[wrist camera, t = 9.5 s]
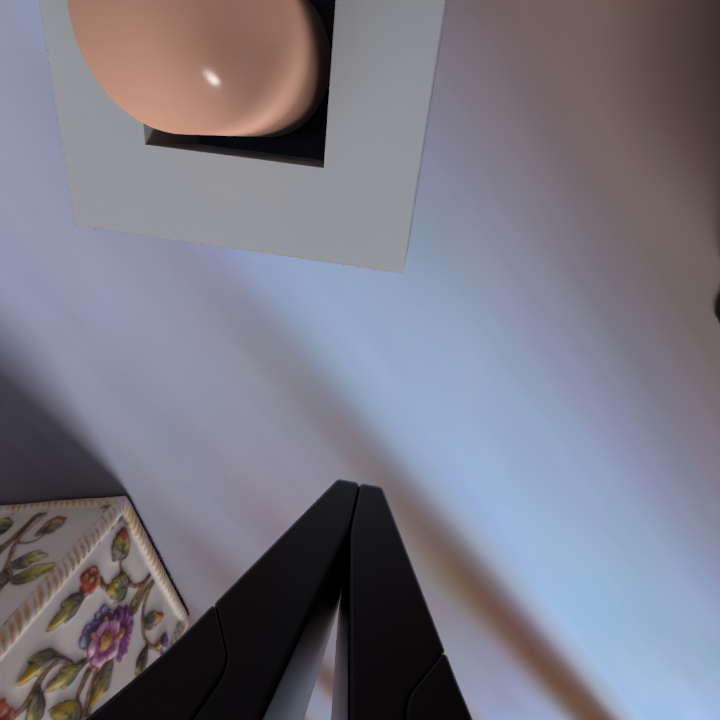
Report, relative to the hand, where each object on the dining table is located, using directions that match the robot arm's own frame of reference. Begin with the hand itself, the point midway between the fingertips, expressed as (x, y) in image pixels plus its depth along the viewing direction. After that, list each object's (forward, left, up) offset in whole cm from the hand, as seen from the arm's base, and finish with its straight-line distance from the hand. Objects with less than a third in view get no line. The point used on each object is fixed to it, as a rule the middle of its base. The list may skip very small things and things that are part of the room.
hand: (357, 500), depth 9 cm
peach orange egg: (+6, -8, -12) cm, 15 cm away
